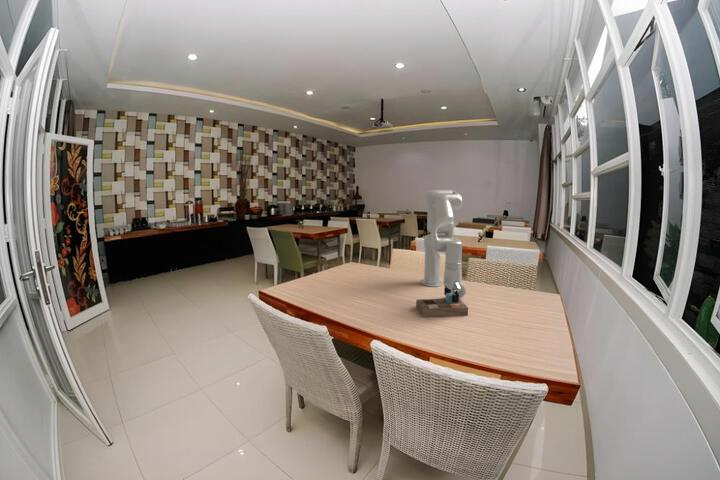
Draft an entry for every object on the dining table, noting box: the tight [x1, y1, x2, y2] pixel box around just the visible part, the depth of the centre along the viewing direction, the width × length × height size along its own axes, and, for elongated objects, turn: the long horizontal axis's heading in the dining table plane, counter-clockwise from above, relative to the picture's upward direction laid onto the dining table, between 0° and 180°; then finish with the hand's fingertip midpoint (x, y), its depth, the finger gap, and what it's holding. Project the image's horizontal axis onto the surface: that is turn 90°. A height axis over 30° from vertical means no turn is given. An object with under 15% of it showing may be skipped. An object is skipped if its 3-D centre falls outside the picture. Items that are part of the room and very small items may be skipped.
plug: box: [445, 293, 456, 304], centre depth 144 cm, size 4×4×8 cm
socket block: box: [415, 298, 469, 318], centre depth 142 cm, size 12×22×4 cm, turn 95°
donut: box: [451, 282, 467, 300], centre depth 157 cm, size 10×4×10 cm, turn 69°
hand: (451, 298), depth 143 cm, fingers open, 9 cm apart
